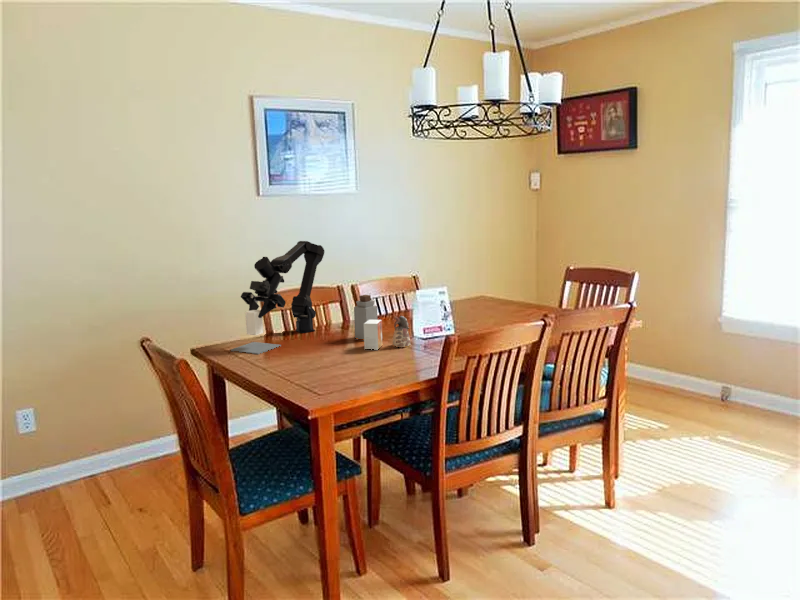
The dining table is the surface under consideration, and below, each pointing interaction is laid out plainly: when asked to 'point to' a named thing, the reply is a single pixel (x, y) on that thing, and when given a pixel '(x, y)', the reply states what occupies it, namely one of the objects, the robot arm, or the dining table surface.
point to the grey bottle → (363, 314)
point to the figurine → (401, 332)
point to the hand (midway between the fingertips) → (254, 317)
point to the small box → (373, 334)
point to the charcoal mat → (255, 347)
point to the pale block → (253, 322)
